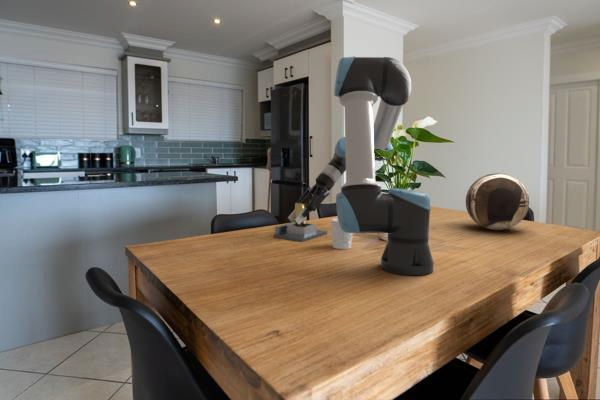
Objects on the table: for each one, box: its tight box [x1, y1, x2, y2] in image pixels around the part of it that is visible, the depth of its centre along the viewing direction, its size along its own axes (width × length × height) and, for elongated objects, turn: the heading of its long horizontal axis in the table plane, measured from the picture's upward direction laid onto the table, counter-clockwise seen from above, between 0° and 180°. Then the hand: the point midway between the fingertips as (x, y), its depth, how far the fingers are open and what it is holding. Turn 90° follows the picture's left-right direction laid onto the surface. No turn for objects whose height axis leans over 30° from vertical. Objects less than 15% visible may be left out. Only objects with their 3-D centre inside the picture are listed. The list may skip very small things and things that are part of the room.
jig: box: [273, 221, 328, 243], centre depth 159 cm, size 18×14×5 cm
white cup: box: [330, 217, 354, 250], centre depth 140 cm, size 8×8×10 cm
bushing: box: [294, 202, 308, 227], centre depth 157 cm, size 5×5×11 cm
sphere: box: [465, 172, 530, 231], centre depth 173 cm, size 25×25×25 cm
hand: (293, 221), depth 156 cm, fingers closed on bushing, 4 cm apart
